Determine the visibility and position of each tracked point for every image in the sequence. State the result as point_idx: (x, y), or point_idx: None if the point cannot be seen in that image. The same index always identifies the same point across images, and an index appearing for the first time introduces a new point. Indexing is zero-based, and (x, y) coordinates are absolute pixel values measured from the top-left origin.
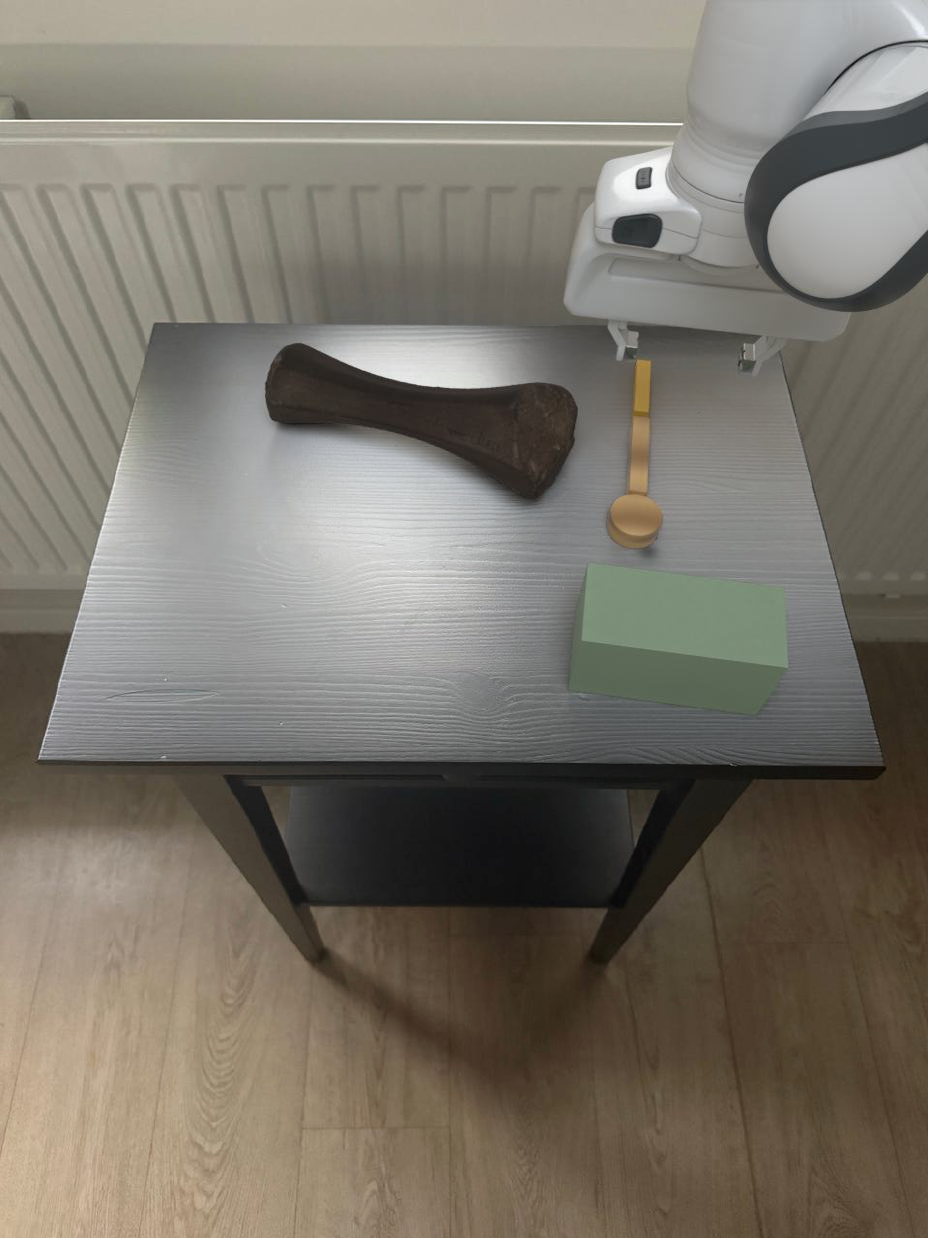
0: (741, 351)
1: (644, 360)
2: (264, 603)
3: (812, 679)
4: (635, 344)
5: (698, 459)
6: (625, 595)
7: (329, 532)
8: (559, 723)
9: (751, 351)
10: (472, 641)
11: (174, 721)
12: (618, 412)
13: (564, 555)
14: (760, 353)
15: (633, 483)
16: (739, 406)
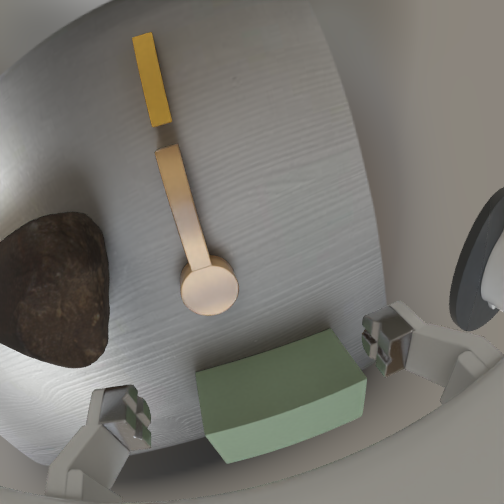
0: (379, 337)
1: (142, 35)
2: (30, 415)
3: None
4: (142, 445)
5: (251, 153)
6: (245, 439)
7: (12, 371)
8: None
9: (402, 352)
10: None
11: None
12: (133, 121)
13: (160, 332)
14: (419, 371)
15: (193, 260)
16: (280, 53)
